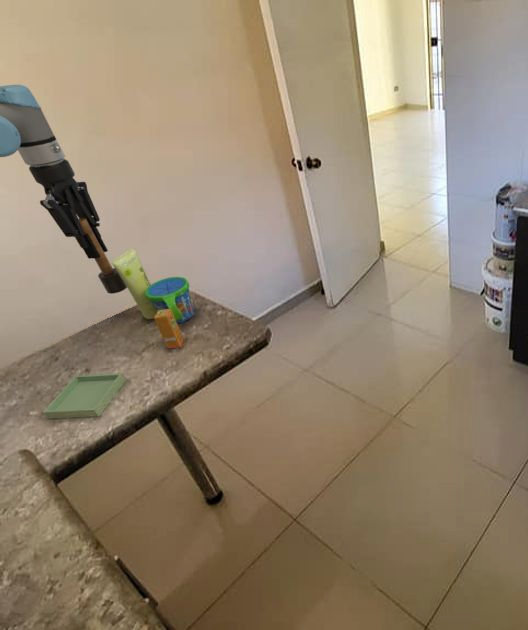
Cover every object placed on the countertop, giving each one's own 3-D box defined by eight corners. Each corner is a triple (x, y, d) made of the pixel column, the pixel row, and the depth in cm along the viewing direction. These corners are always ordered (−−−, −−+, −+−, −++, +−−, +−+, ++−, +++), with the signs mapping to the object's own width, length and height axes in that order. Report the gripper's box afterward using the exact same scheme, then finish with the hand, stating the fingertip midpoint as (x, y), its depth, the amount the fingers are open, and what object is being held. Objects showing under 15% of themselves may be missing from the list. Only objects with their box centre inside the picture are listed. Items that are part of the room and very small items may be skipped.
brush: (103, 294, 116) (63, 224, 104) (113, 284, 120) (76, 216, 108) (121, 293, 116) (83, 223, 104) (131, 283, 120) (95, 215, 108)
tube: (163, 317, 122) (133, 256, 110) (143, 323, 120) (110, 261, 109) (163, 307, 126) (134, 247, 115) (144, 312, 124) (112, 252, 113)
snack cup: (161, 307, 126) (146, 277, 120) (200, 298, 129) (187, 268, 123) (158, 337, 114) (142, 306, 108) (201, 326, 117) (187, 295, 111)
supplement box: (182, 347, 111) (166, 315, 105) (168, 349, 110) (151, 317, 104) (185, 339, 113) (170, 308, 107) (171, 341, 113) (156, 309, 107)
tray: (47, 418, 93) (42, 412, 92) (80, 381, 102) (75, 375, 101) (99, 416, 93) (94, 409, 91) (126, 379, 102) (122, 373, 101)
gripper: (39, 172, 92) (94, 269, 106) (84, 151, 104) (128, 240, 118) (4, 174, 92) (64, 270, 106) (54, 153, 104) (101, 241, 118)
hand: (98, 254), depth 112 cm, fingers closed on brush, 3 cm apart
